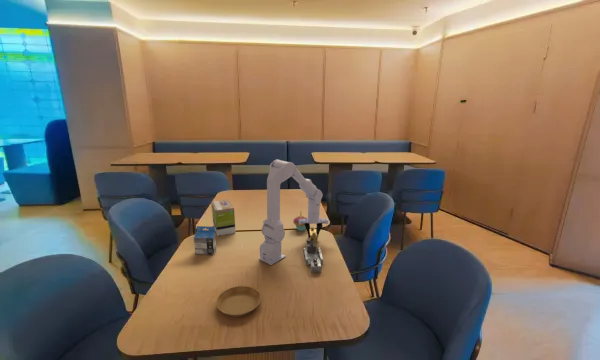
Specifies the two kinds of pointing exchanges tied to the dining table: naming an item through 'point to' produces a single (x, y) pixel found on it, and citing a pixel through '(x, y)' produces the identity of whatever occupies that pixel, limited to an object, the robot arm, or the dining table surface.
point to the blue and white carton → (205, 240)
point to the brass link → (313, 235)
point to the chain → (313, 256)
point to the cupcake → (296, 222)
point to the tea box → (223, 217)
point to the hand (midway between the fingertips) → (313, 236)
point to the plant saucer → (238, 300)
